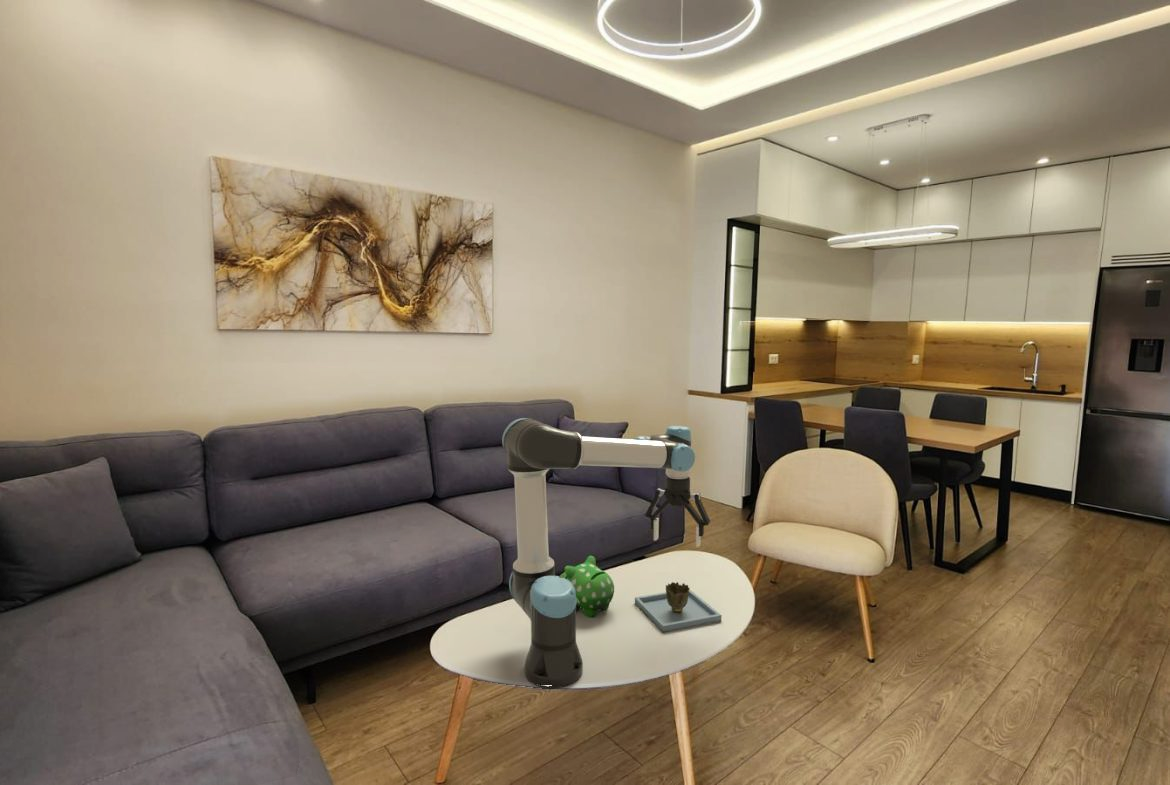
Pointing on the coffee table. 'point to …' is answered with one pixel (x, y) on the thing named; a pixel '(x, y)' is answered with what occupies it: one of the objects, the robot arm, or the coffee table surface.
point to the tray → (668, 620)
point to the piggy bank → (590, 587)
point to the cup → (677, 596)
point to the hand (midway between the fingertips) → (676, 542)
